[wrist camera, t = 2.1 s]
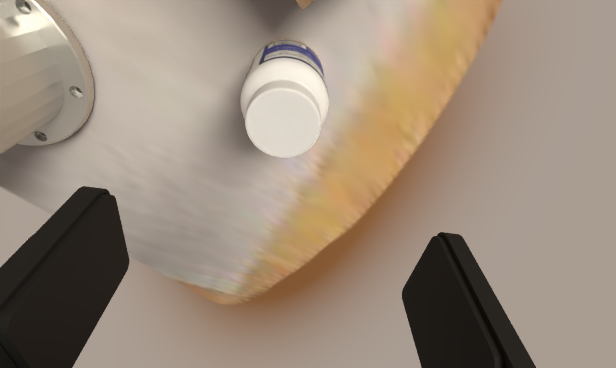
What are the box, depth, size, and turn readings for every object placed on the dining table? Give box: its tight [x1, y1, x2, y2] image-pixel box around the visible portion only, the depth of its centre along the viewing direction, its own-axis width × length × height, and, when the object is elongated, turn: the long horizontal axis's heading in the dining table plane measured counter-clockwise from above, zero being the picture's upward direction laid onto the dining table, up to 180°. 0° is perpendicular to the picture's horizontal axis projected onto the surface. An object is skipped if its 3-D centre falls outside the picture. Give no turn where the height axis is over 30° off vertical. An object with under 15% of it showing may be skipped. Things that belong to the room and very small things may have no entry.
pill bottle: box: [240, 39, 329, 158], centre depth 20 cm, size 5×5×9 cm
